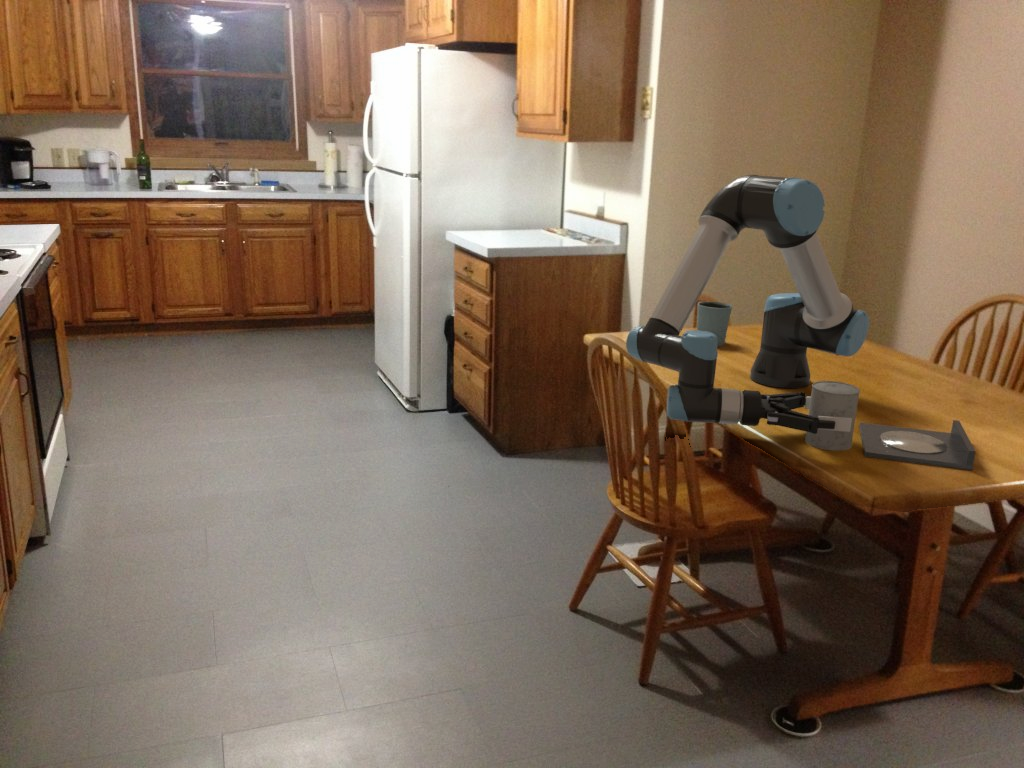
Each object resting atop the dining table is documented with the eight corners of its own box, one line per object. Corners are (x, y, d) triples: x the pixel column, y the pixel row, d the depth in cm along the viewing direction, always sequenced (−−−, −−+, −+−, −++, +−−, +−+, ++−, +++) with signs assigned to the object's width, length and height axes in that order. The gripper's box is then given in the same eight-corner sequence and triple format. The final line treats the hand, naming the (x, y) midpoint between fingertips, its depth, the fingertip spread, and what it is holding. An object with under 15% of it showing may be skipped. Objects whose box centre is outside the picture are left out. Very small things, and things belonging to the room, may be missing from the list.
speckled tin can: (858, 442, 190) (867, 387, 186) (841, 454, 183) (849, 397, 179) (815, 431, 196) (823, 378, 192) (797, 442, 189) (804, 387, 185)
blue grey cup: (688, 339, 276) (691, 301, 272) (717, 338, 279) (721, 300, 275) (704, 347, 266) (708, 308, 263) (734, 346, 269) (738, 307, 266)
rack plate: (859, 426, 200) (861, 409, 199) (956, 438, 195) (959, 420, 193) (864, 456, 182) (867, 438, 181) (972, 470, 176) (975, 451, 175)
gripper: (732, 406, 202) (828, 412, 200) (745, 443, 179) (854, 452, 176) (735, 374, 200) (833, 380, 198) (749, 408, 177) (860, 416, 174)
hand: (843, 414), depth 187 cm, fingers open, 13 cm apart
